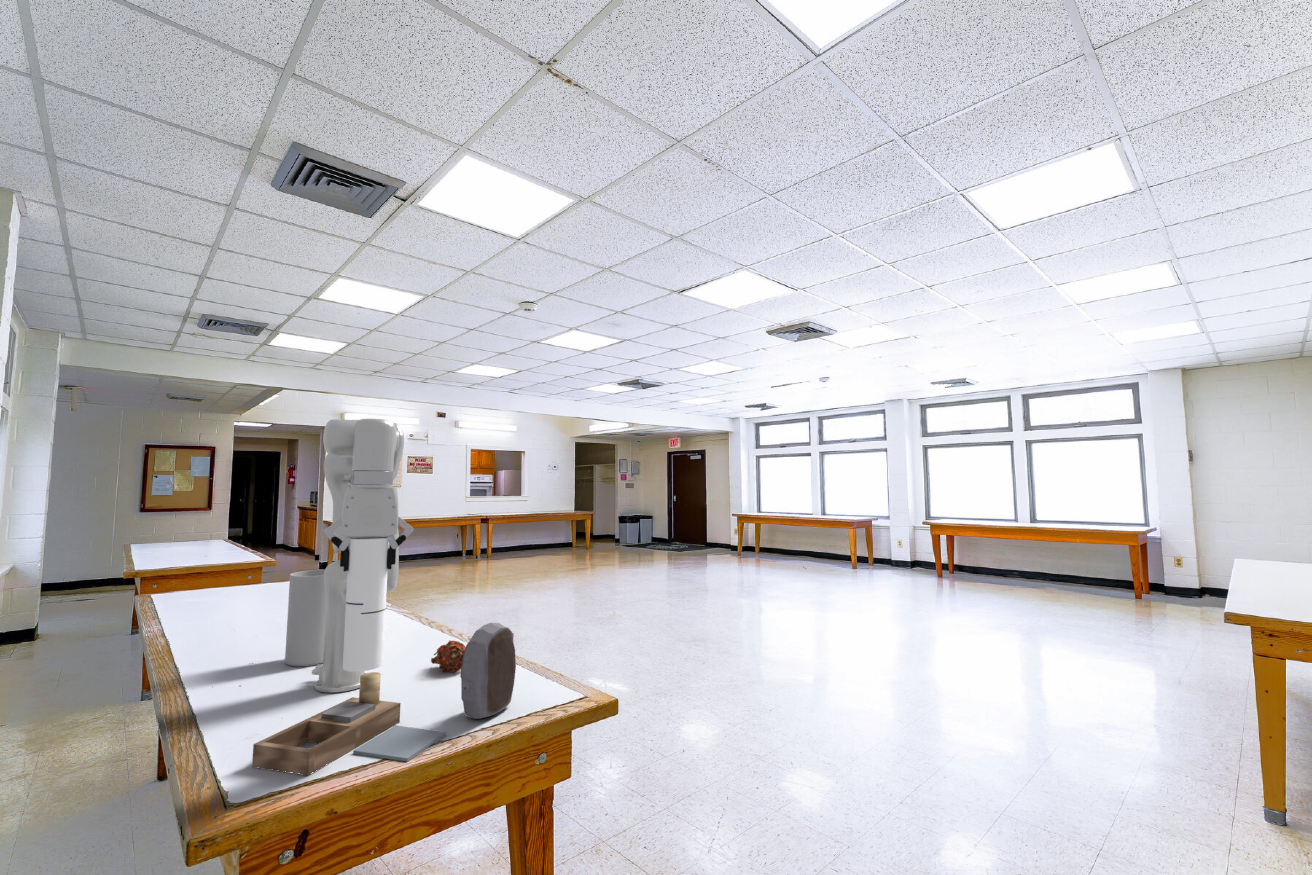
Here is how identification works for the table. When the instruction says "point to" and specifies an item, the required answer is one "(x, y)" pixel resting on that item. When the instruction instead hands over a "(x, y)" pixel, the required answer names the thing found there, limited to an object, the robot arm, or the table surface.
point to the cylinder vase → (306, 619)
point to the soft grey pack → (488, 671)
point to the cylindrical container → (365, 604)
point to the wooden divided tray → (329, 732)
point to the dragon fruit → (449, 656)
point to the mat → (400, 743)
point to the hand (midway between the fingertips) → (368, 568)
